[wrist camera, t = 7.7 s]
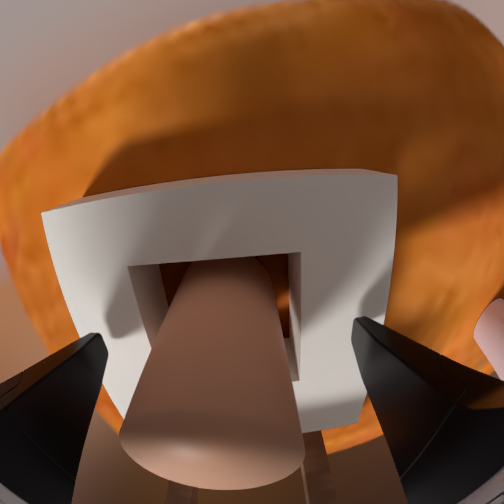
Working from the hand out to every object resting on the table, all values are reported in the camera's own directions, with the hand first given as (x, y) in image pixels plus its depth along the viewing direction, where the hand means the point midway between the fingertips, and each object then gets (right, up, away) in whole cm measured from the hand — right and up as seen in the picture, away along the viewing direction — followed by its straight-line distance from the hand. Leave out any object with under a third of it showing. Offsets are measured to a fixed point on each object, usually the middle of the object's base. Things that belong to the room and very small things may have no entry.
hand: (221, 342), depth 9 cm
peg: (0, +1, +3) cm, 4 cm away
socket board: (0, +1, +3) cm, 4 cm away
